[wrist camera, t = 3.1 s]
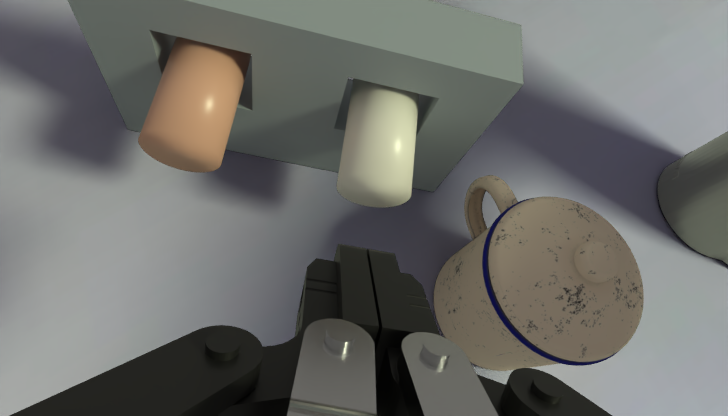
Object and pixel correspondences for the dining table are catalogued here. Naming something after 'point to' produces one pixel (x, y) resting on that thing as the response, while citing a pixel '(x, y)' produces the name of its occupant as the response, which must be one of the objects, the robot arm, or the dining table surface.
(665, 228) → the dining table surface
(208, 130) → the terracotta button
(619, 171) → the dining table surface
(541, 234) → the teacup with lid
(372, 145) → the cream button
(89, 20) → the button panel
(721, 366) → the dining table surface
